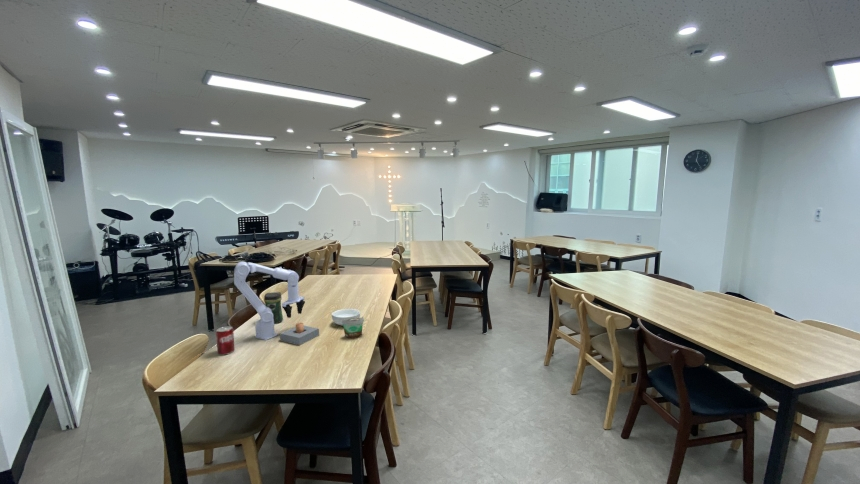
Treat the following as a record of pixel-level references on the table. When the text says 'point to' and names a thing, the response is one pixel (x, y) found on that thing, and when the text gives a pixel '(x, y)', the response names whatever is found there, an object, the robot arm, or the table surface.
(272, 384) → the table surface
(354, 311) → the cereal bowl
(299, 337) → the socket
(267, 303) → the coffee jar
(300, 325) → the peg
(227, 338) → the soda can
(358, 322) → the food container
